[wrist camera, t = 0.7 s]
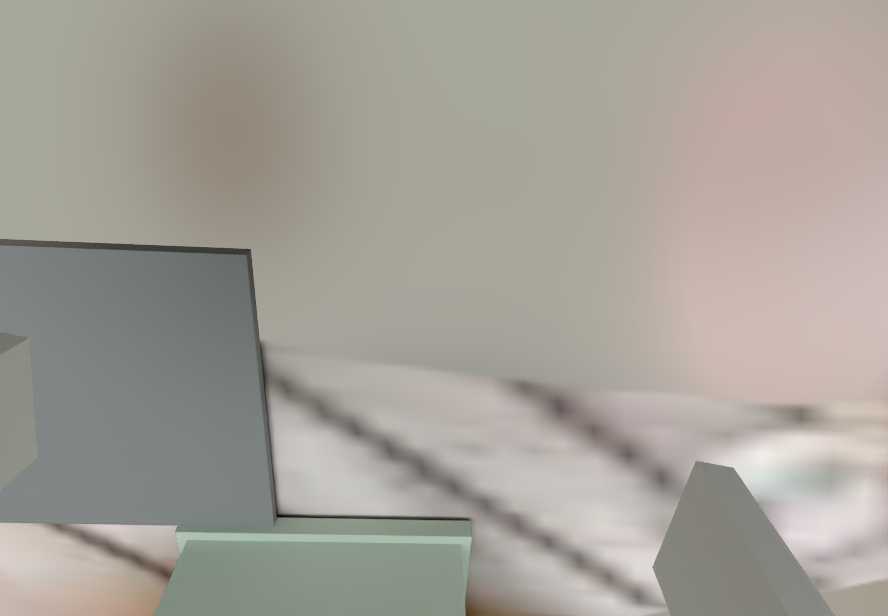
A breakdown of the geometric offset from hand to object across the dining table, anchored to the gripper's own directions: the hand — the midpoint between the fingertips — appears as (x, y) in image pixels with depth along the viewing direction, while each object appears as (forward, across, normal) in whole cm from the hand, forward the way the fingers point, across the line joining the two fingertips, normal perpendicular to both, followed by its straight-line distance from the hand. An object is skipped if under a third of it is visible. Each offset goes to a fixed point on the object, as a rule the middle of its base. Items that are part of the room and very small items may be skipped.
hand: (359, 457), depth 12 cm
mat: (+12, -14, -8) cm, 20 cm away
